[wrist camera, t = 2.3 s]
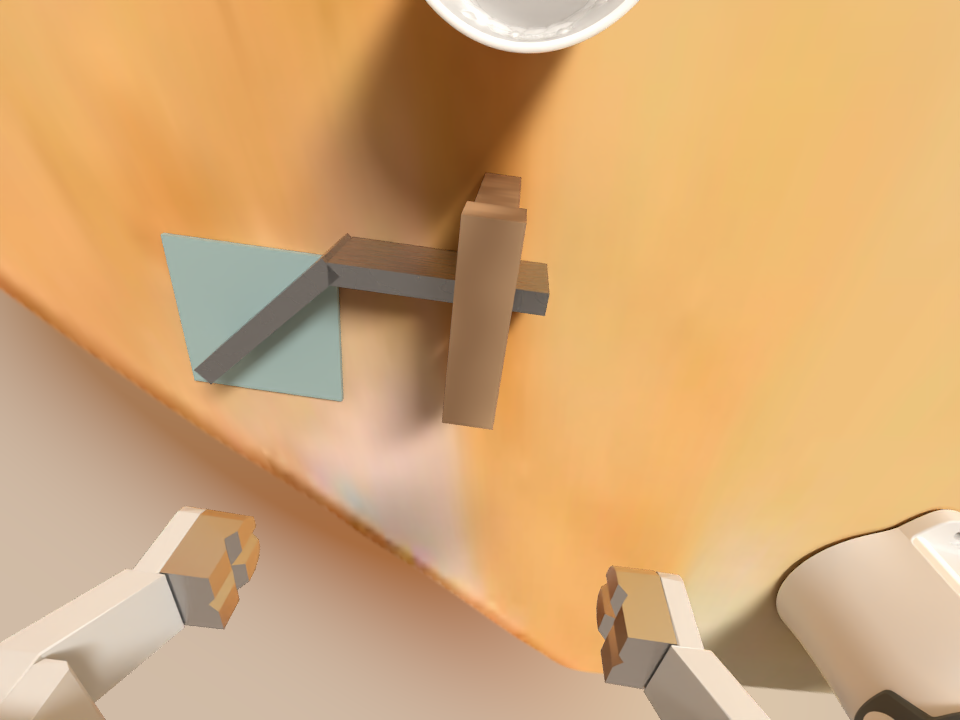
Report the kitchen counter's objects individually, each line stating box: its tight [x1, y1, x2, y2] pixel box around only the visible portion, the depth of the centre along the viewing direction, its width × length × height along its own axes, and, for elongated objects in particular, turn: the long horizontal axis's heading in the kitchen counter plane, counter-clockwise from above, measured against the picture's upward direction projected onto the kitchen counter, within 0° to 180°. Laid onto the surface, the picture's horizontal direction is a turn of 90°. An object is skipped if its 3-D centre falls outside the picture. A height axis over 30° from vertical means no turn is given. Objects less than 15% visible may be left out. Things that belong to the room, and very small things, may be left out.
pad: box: [161, 233, 343, 401], centre depth 30 cm, size 10×10×1 cm
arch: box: [442, 173, 527, 430], centre depth 24 cm, size 2×10×8 cm, turn 173°
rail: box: [194, 233, 549, 384], centre depth 28 cm, size 19×9×4 cm, turn 83°
